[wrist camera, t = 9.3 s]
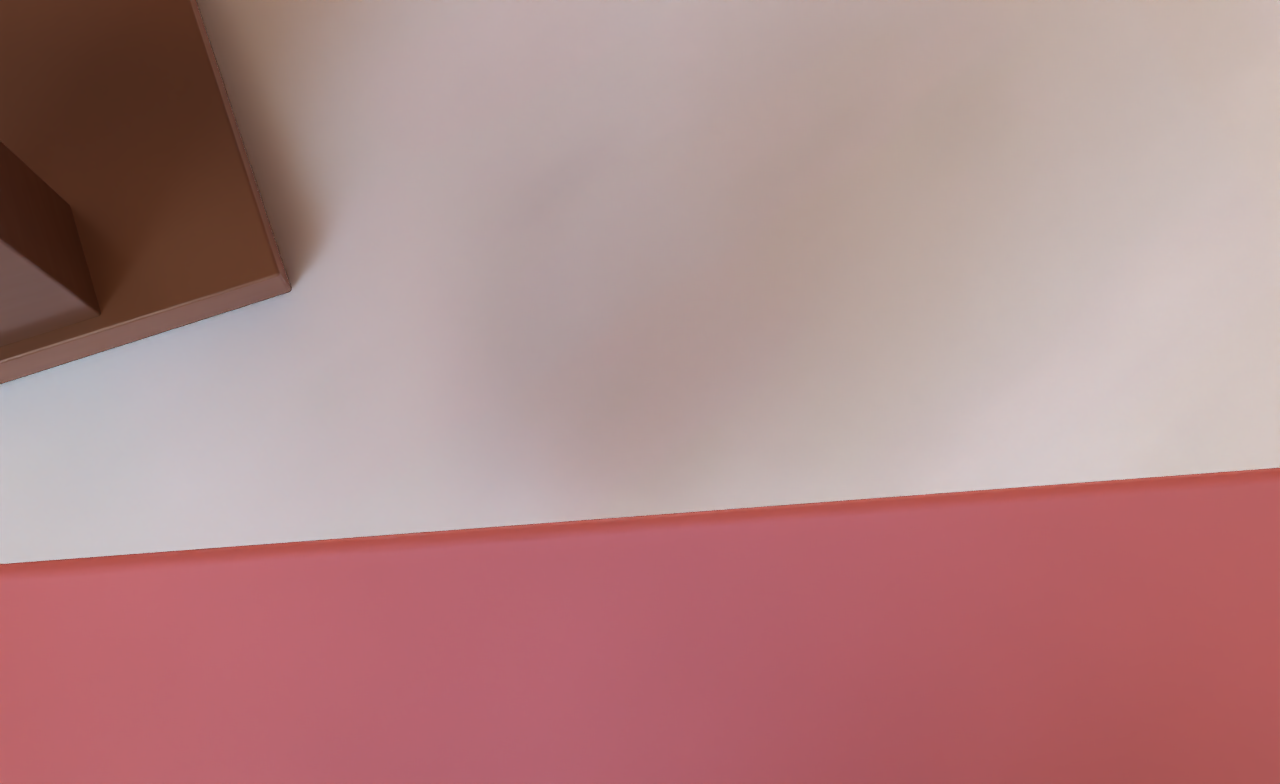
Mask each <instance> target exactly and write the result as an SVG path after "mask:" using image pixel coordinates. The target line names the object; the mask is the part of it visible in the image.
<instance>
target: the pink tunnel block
mask: <svg viewBox="0 0 1280 784" xmlns="http://www.w3.org/2000/svg"><path fill="white" fill-rule="evenodd" d="M0 784H1280V468H1271V469H1258V470H1244V471H1231V472H1218V473H1205V474H1191V475H1178V476H1165V477H1151V478H1138V479H1125V480H1112V481H1098V482H1085V483H1072V484H1059V485H1045V486H1032V487H1019V488H1006V489H992V490H979V491H966V492H953V493H939V494H926V495H913V496H899V497H886V498H873V499H860V500H846V501H833V502H820V503H807V504H793V505H780V506H767V507H754V508H740V509H727V510H714V511H700V512H687V513H674V514H661V515H647V516H634V517H621V518H608V519H594V520H581V521H568V522H555V523H541V524H528V525H515V526H501V527H488V528H475V529H462V530H448V531H435V532H422V533H409V534H395V535H382V536H369V537H355V538H342V539H329V540H316V541H302V542H289V543H276V544H263V545H249V546H236V547H223V548H210V549H196V550H183V551H170V552H157V553H143V554H130V555H117V556H103V557H90V558H77V559H64V560H50V561H37V562H24V563H11V564H0Z"/></svg>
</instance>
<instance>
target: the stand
mask: <svg viewBox="0 0 1280 784" xmlns="http://www.w3.org/2000/svg"><path fill="white" fill-rule="evenodd" d="M290 291H291V287H290V284H289V281H288V277H287V274H286V271H285V268H284V265H283V262H282V259H281V256H280V253H279V250H278V247H277V244H276V241H275V238H274V235H273V232H272V229H271V226H270V223H269V220H268V217H267V214H266V211H265V208H264V205H263V202H262V199H261V196H260V193H259V190H258V187H257V184H256V181H255V177H254V174H253V171H252V168H251V165H250V162H249V159H248V156H247V153H246V150H245V147H244V144H243V141H242V138H241V135H240V132H239V129H238V126H237V123H236V120H235V117H234V114H233V111H232V108H231V105H230V102H229V99H228V96H227V93H226V90H225V87H224V84H223V81H222V77H221V74H220V71H219V68H218V65H217V62H216V59H215V56H214V53H213V50H212V47H211V44H210V41H209V38H208V35H207V32H206V29H205V26H204V23H203V20H202V17H201V14H200V11H199V8H198V5H197V2H196V0H0V384H2V383H5V382H8V381H11V380H14V379H18V378H21V377H24V376H27V375H30V374H33V373H36V372H40V371H43V370H46V369H49V368H52V367H55V366H58V365H61V364H65V363H68V362H71V361H74V360H77V359H80V358H83V357H87V356H90V355H93V354H96V353H99V352H102V351H105V350H109V349H112V348H115V347H118V346H121V345H124V344H127V343H130V342H134V341H137V340H140V339H143V338H146V337H149V336H152V335H156V334H159V333H162V332H165V331H168V330H171V329H174V328H177V327H181V326H184V325H187V324H190V323H193V322H196V321H199V320H203V319H206V318H209V317H212V316H215V315H218V314H221V313H224V312H228V311H231V310H234V309H237V308H240V307H243V306H246V305H250V304H253V303H256V302H259V301H262V300H265V299H268V298H272V297H275V296H278V295H281V294H284V293H287V292H290Z"/></svg>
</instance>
